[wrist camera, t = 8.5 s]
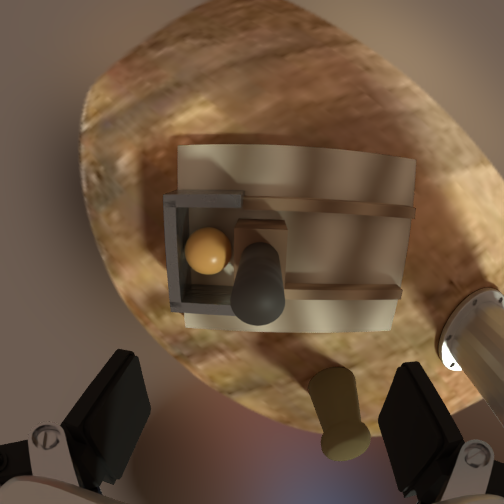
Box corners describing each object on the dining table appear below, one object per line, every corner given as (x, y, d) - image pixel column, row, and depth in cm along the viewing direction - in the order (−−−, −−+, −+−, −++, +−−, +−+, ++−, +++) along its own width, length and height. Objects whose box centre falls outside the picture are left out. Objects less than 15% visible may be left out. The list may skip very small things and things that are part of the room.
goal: (244, 189, 25) (241, 194, 21) (243, 295, 28) (239, 316, 24) (177, 189, 25) (163, 194, 22) (182, 292, 28) (170, 311, 25)
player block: (284, 219, 26) (297, 259, 15) (281, 273, 27) (290, 341, 17) (238, 218, 26) (220, 257, 15) (238, 272, 27) (222, 338, 17)
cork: (302, 376, 33) (312, 448, 22) (350, 360, 32) (375, 428, 21) (314, 406, 34) (325, 473, 24) (358, 392, 33) (379, 456, 23)
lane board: (409, 159, 25) (423, 160, 22) (385, 323, 30) (394, 337, 27) (182, 146, 26) (172, 144, 23) (188, 320, 31) (181, 334, 28)
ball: (174, 227, 24) (212, 221, 27) (177, 272, 25) (212, 262, 28) (202, 236, 22) (241, 228, 24) (204, 286, 23) (241, 273, 26)
